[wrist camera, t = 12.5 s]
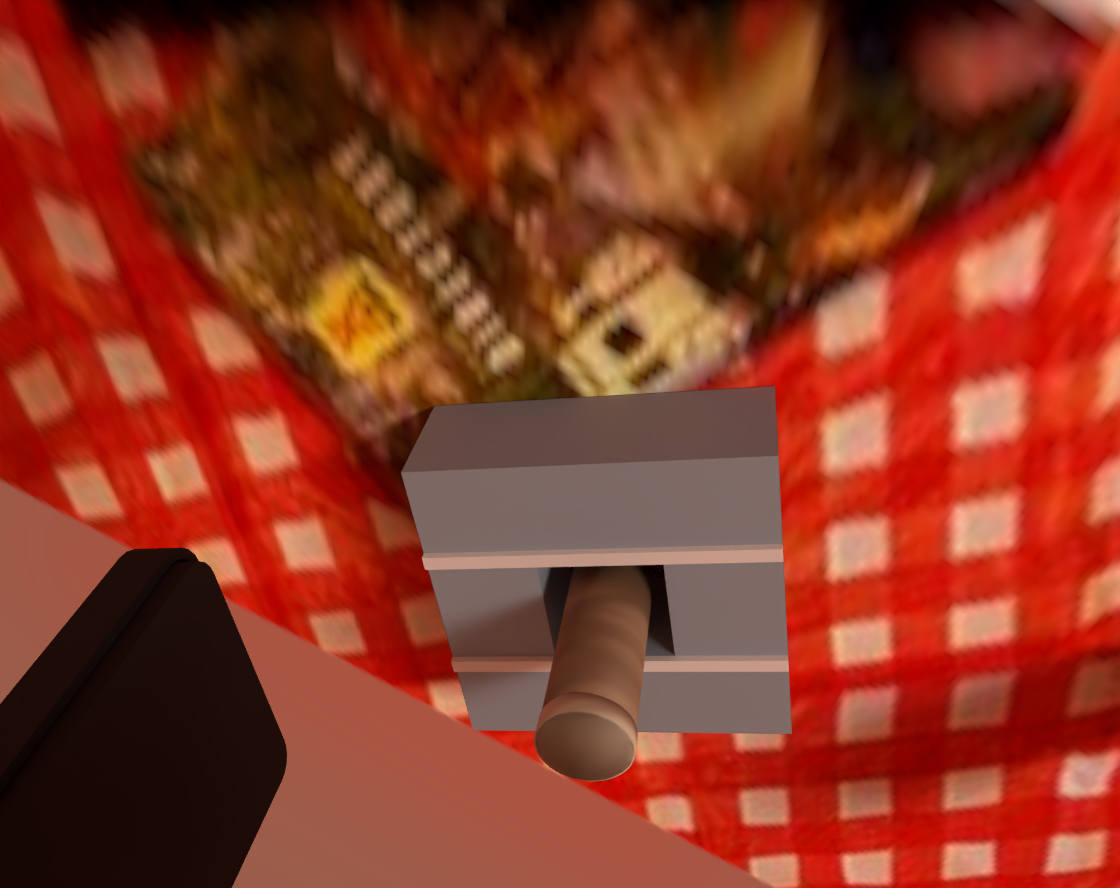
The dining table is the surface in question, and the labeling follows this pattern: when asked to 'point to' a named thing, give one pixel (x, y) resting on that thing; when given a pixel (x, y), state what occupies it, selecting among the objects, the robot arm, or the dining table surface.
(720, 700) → the socket block
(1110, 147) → the dining table surface
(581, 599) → the walnut peg
